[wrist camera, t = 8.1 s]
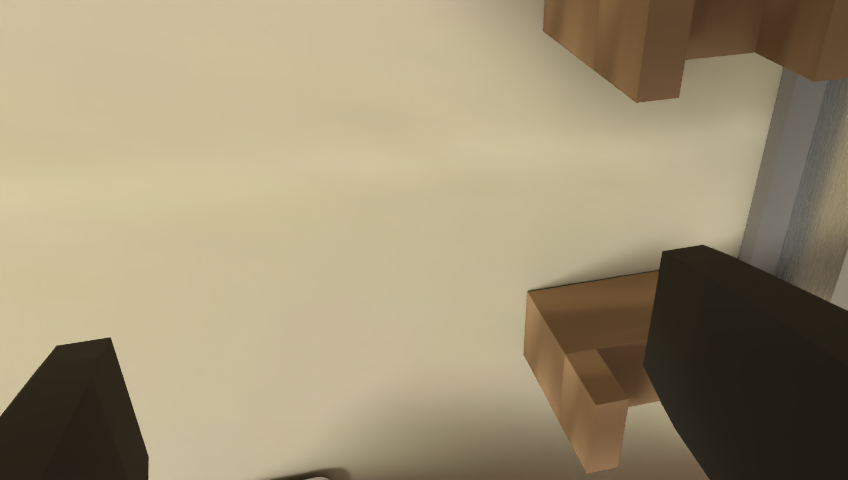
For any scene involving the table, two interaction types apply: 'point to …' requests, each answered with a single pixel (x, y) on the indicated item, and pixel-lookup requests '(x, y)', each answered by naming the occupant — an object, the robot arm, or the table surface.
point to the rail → (822, 207)
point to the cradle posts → (641, 81)
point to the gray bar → (781, 169)
